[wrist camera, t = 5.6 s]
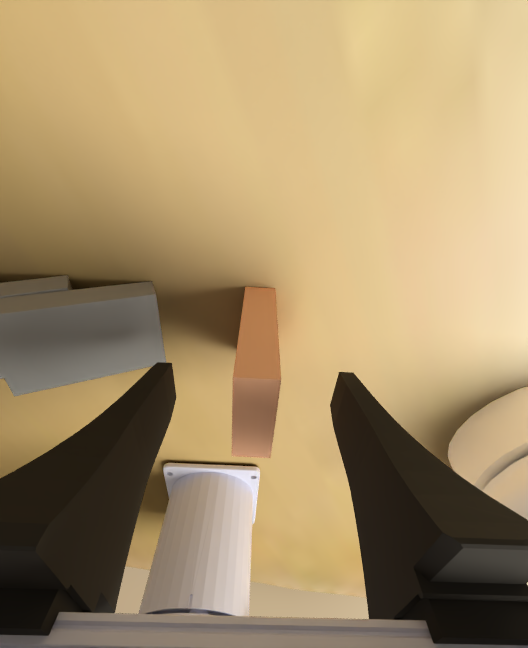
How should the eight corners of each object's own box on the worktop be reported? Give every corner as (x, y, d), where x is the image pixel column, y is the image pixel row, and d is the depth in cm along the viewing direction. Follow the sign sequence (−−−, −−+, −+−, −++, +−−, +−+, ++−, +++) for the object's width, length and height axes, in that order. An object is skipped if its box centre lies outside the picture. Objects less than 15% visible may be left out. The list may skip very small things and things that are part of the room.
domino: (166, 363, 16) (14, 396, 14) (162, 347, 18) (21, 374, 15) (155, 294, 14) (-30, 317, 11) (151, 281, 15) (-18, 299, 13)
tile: (268, 352, 18) (270, 458, 12) (243, 351, 18) (231, 456, 12) (275, 288, 15) (281, 379, 10) (245, 286, 15) (232, 377, 9)
